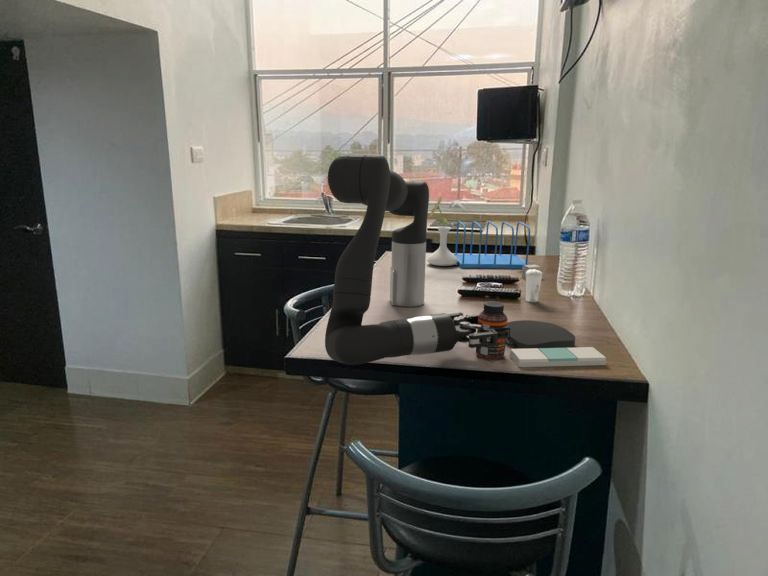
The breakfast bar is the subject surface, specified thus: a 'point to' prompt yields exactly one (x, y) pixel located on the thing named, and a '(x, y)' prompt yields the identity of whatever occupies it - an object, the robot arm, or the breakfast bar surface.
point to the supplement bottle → (492, 319)
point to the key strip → (557, 357)
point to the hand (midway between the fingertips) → (497, 325)
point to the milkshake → (533, 284)
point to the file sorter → (491, 259)
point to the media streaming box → (538, 335)
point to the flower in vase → (442, 244)
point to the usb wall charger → (527, 267)
